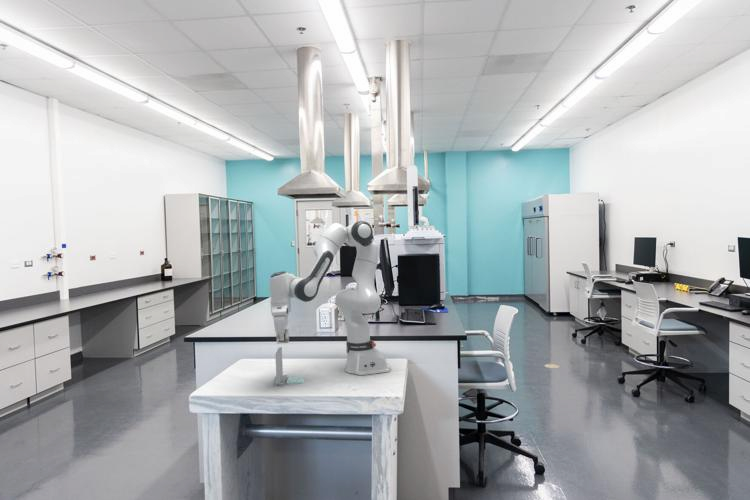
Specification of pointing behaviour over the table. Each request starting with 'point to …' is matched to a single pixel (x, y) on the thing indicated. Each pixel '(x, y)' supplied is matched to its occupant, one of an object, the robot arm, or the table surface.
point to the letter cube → (286, 337)
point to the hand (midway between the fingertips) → (283, 338)
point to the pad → (295, 380)
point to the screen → (279, 369)
